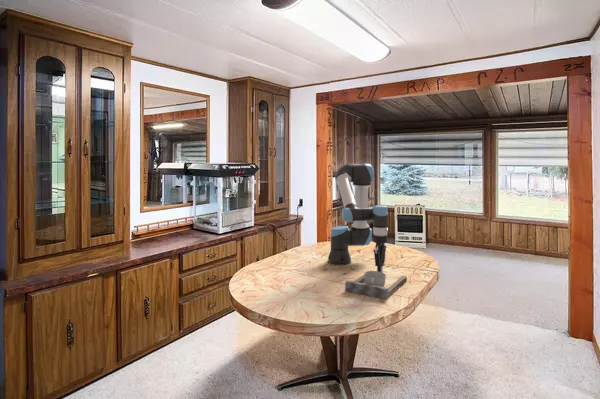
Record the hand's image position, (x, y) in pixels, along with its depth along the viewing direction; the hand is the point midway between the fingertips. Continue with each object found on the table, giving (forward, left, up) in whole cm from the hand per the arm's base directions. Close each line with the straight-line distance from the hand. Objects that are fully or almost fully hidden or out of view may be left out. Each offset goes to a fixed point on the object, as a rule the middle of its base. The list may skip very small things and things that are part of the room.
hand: (379, 277), depth 197 cm
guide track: (0, -3, -4) cm, 5 cm away
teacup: (0, -9, -4) cm, 10 cm away
